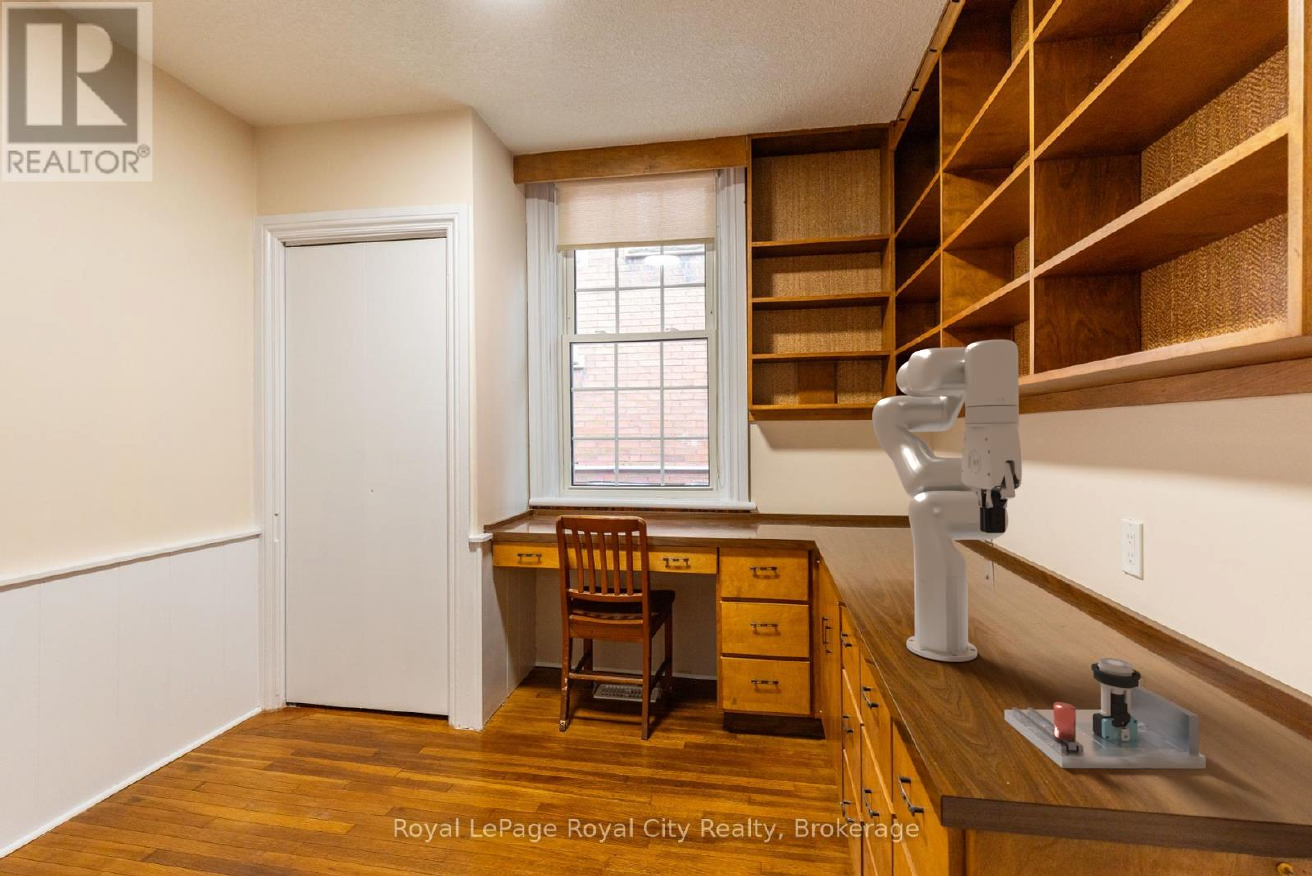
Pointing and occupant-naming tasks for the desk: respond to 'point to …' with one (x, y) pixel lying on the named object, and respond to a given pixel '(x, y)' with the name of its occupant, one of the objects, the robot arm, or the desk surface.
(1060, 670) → the desk surface
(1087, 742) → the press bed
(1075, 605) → the desk surface
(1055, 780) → the desk surface
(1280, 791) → the desk surface
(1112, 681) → the push button
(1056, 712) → the lever
